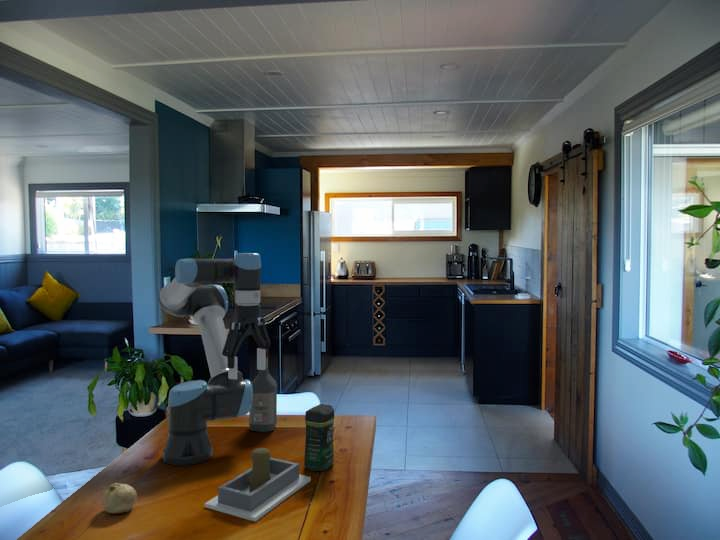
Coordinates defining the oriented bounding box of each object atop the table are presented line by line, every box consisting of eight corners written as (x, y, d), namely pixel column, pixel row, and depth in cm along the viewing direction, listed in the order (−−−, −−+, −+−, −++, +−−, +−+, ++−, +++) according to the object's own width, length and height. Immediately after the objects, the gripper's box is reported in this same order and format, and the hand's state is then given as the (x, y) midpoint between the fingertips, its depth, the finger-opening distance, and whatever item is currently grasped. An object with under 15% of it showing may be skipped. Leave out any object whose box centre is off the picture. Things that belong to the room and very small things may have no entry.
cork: (276, 486, 146) (276, 447, 145) (263, 496, 140) (263, 455, 140) (258, 482, 148) (258, 444, 148) (244, 491, 143) (244, 451, 142)
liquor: (273, 432, 192) (273, 350, 190) (248, 432, 192) (248, 350, 191) (277, 424, 201) (277, 345, 200) (253, 423, 201) (253, 345, 200)
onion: (123, 500, 139) (123, 473, 139) (143, 507, 135) (143, 480, 135) (95, 513, 132) (95, 485, 132) (115, 521, 128) (115, 492, 128)
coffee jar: (323, 474, 157) (324, 412, 156) (300, 469, 160) (300, 409, 159) (337, 462, 165) (338, 403, 165) (315, 458, 169) (315, 400, 168)
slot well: (255, 521, 129) (255, 501, 129) (204, 507, 136) (204, 487, 136) (310, 480, 152) (310, 463, 152) (265, 469, 159) (265, 453, 159)
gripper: (230, 308, 146) (230, 384, 147) (281, 301, 169) (281, 367, 169) (209, 307, 149) (209, 381, 150) (262, 300, 172) (262, 364, 173)
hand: (247, 374), depth 160 cm, fingers open, 13 cm apart
